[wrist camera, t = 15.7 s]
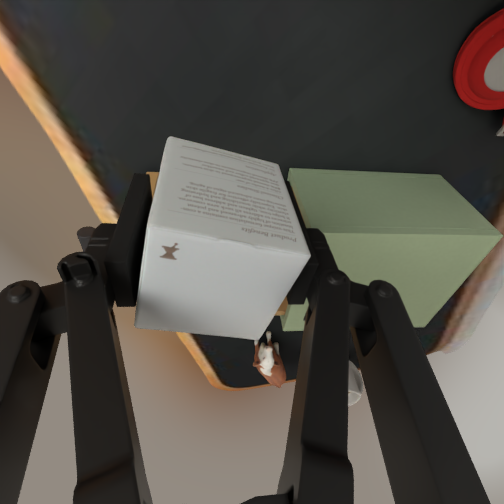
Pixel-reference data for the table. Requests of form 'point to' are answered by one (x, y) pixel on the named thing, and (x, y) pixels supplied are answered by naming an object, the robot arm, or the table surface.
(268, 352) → the bull figurine
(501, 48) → the tracker holder
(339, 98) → the table surface
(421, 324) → the cabinet
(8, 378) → the robot arm
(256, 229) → the product box
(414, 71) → the table surface
